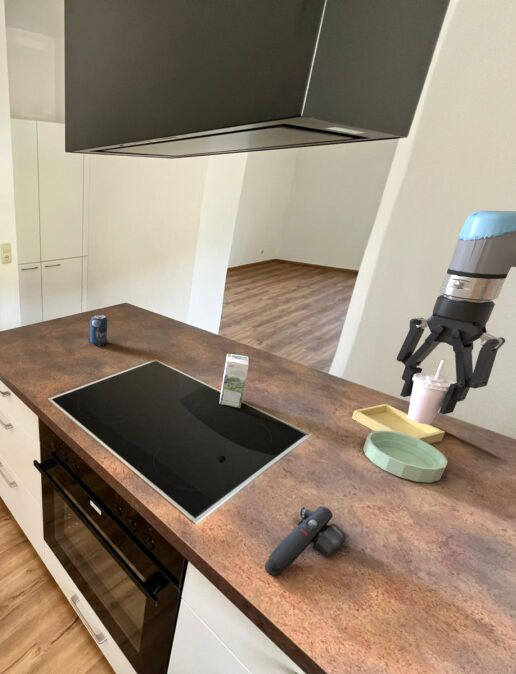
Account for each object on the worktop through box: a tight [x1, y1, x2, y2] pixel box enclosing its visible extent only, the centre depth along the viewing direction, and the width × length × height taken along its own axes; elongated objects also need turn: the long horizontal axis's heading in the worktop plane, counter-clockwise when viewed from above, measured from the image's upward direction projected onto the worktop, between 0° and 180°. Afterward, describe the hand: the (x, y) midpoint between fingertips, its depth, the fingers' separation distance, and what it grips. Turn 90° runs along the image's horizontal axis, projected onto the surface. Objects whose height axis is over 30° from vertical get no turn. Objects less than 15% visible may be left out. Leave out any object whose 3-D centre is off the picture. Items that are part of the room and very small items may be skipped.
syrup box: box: [219, 353, 250, 409], centre depth 104 cm, size 6×6×14 cm
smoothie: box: [407, 358, 456, 425], centre depth 75 cm, size 6×6×14 cm
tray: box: [351, 403, 446, 445], centre depth 93 cm, size 14×12×3 cm
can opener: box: [264, 506, 347, 578], centre depth 61 cm, size 18×7×6 cm, turn 118°
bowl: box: [362, 430, 449, 483], centre depth 81 cm, size 13×13×4 cm
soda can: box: [89, 313, 108, 347], centre depth 148 cm, size 7×7×12 cm
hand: (425, 403), depth 76 cm, fingers closed on smoothie, 6 cm apart
